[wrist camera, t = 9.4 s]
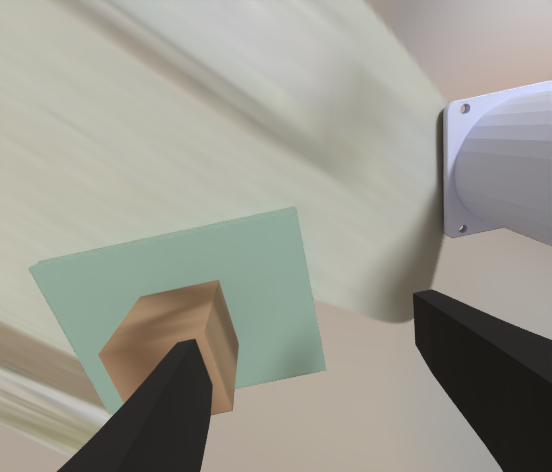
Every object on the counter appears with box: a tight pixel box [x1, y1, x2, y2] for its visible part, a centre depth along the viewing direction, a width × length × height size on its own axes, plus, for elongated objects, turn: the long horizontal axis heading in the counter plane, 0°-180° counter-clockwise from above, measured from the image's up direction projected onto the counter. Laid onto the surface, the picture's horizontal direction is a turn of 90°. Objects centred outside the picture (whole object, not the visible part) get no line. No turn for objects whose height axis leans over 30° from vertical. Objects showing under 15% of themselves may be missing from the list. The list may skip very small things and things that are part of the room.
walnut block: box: [98, 280, 239, 415], centre depth 16 cm, size 5×5×5 cm
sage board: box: [28, 207, 326, 414], centre depth 19 cm, size 16×12×1 cm
